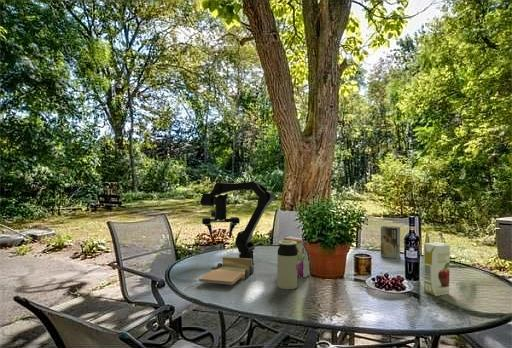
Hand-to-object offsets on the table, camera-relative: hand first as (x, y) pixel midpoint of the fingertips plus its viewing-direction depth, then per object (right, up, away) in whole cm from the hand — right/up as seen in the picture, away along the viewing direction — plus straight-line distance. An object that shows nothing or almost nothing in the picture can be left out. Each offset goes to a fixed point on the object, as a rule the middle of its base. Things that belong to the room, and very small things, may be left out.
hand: (220, 237), depth 194 cm
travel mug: (+31, -13, -42) cm, 54 cm away
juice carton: (+87, -13, -48) cm, 101 cm away
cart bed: (+8, -12, -25) cm, 29 cm away
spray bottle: (+36, -13, -25) cm, 46 cm away
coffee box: (+91, -13, +13) cm, 93 cm away
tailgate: (+6, -10, -31) cm, 33 cm away
